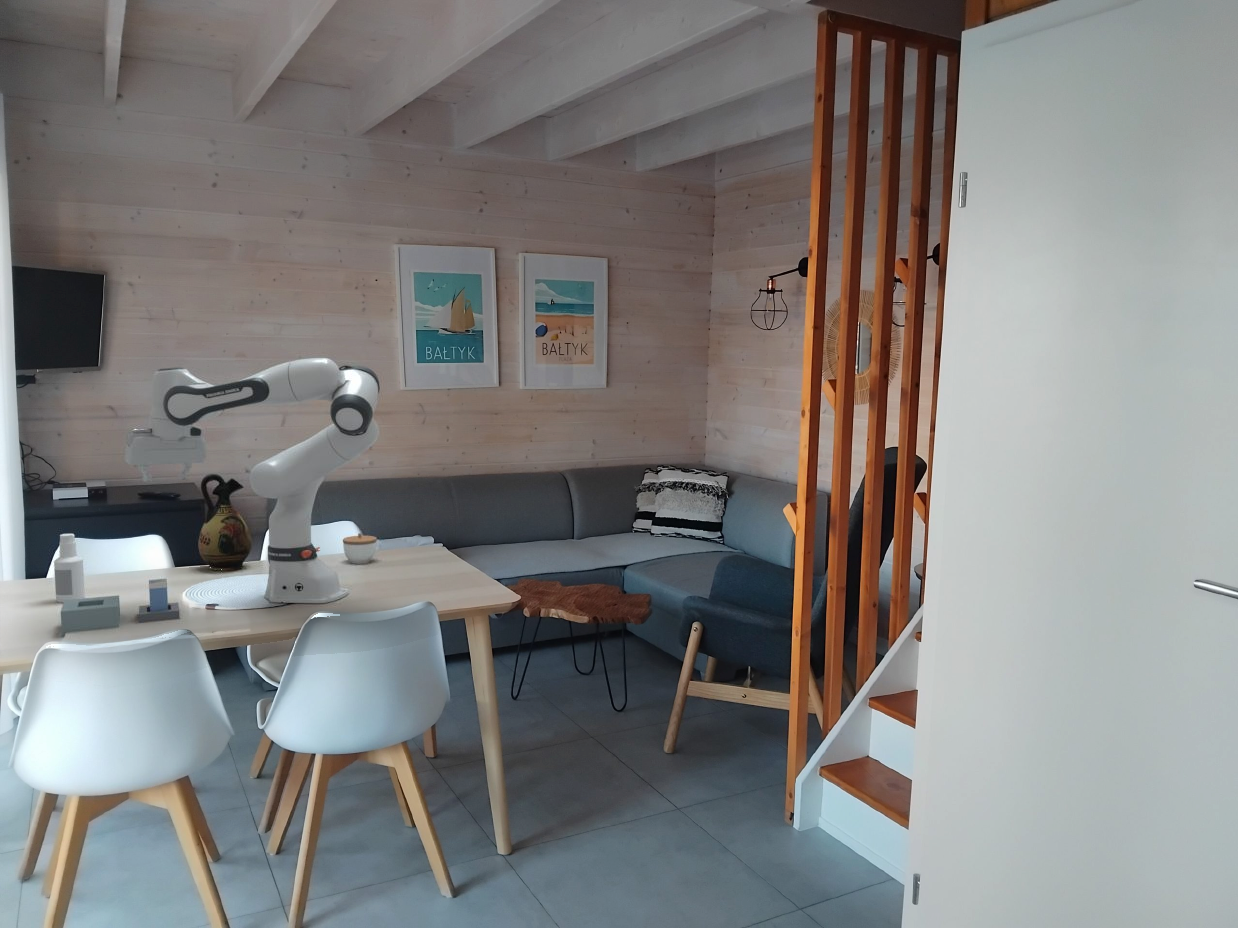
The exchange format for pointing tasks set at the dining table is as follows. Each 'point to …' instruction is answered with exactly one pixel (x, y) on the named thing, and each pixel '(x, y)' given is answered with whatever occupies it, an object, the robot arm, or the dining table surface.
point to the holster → (159, 613)
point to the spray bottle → (68, 571)
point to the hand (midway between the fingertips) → (165, 480)
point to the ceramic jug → (223, 528)
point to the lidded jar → (359, 548)
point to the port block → (90, 614)
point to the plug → (158, 595)
